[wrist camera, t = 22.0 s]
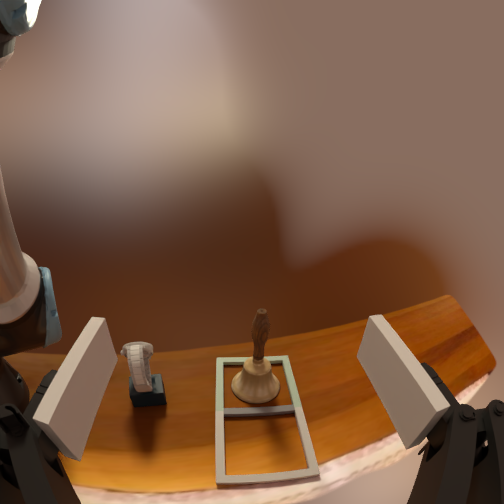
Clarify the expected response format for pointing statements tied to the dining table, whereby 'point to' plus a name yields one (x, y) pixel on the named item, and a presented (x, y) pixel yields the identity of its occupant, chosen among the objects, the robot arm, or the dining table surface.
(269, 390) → the hand bell
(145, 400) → the watch
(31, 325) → the robot arm
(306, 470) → the window frame
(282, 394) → the dining table surface
